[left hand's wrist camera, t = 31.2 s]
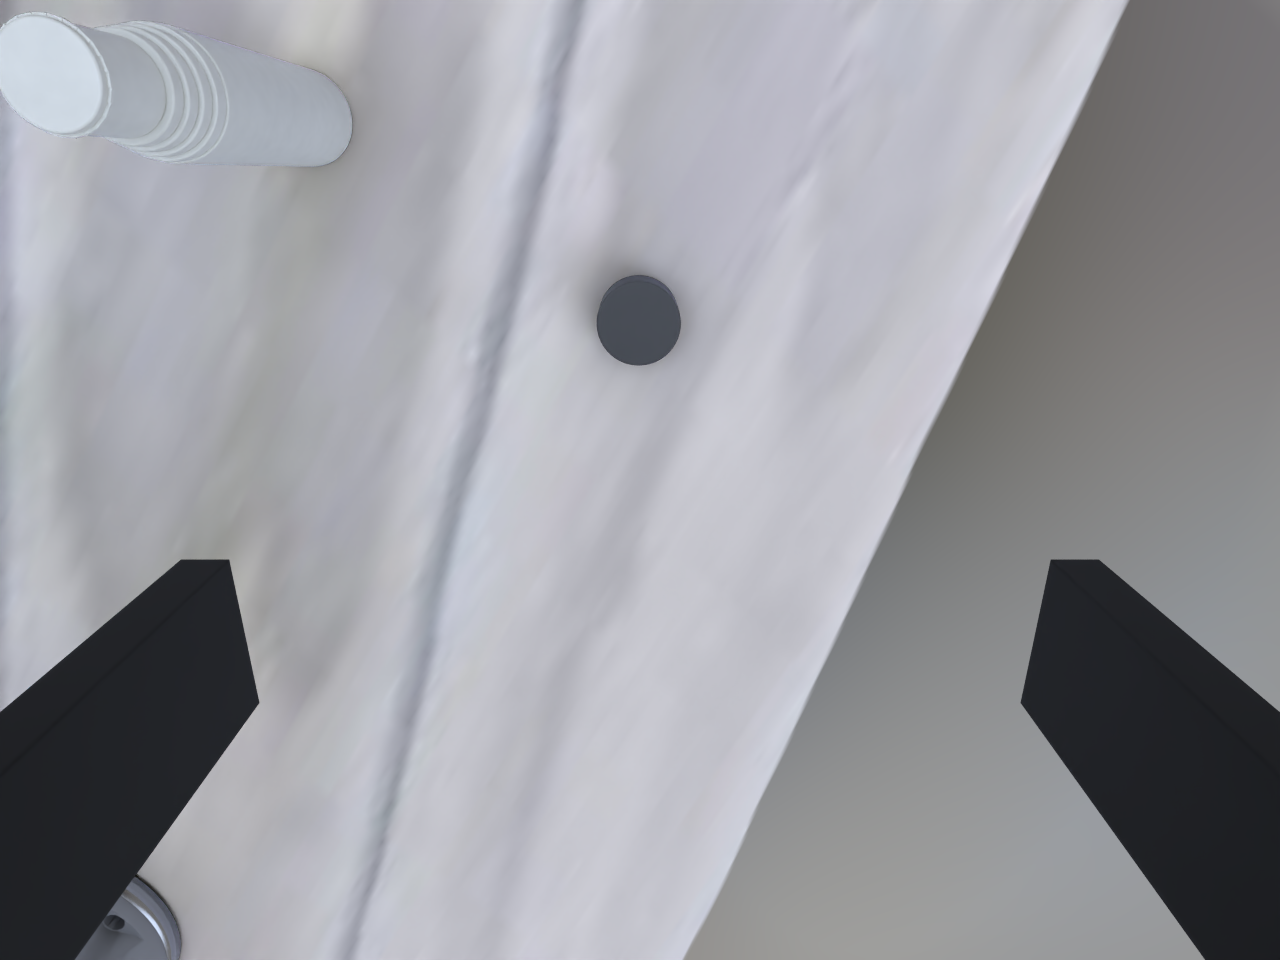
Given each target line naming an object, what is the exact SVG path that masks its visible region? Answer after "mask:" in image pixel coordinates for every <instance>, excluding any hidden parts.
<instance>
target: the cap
mask: <svg viewBox="0 0 1280 960" xmlns="http://www.w3.org/2000/svg"><path fill="white" fill-rule="evenodd" d="M680 326H681V321H680V314H679V310H678V306H677V303H676V300H675V298H674V296H673V294H672V293H671V291H670V290H669V289H668V288H667V287H666V286H665V285H664V284H663V283H661V282H660V281H658V280H656V279H654V278H651V277H648V276H642V275H636V276H630V277H626V278H623V279H621V280H619V281H618V282H616V283H615V284H614V285H612V286H611V287H610V288H609V290H608V291H607V292H606V294H605V295H604V297H603V299H602V302H601V305H600V308H599V312H598V316H597V331H598V335H599V338H600V340H601V343H602V344H603V346H604V348H605V349H606V350H607V351H608V352H609V353H610V354H611V355H612V356H613V357H614V358H616V359H617V360H619V361H621V362H624V363H627V364H630V365H647V364H651V363H654V362H656V361H658V360H660V359H662V358H663V357H664V356H666V355H667V354H668V353H669V352H670V351H671V349H672V348H673V347H674V345H675V344H676V341H677V339H678V336H679V333H680Z"/></svg>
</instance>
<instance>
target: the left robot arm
mask: <svg viewBox="0 0 1280 960" xmlns="http://www.w3.org/2000/svg"><path fill="white" fill-rule="evenodd" d="M258 704H259V699H258V694H257V689H256V685H255V680H254V675H253V670H252V666H251V661H250V656H249V652H248V647H247V642H246V637H245V633H244V628H243V623H242V618H241V614H240V609H239V604H238V599H237V595H236V590H235V585H234V580H233V576H232V571H231V566H230V561H229V560H180V561H179V562H178V563H177V564H175V565H174V566H173V567H172V568H171V569H170V570H168V571H167V572H166V573H165V574H164V575H162V576H161V577H160V578H159V579H158V580H156V581H155V582H154V583H153V584H152V585H151V586H149V587H148V588H147V589H146V590H145V591H143V592H142V593H141V594H140V595H139V596H137V597H136V598H135V599H134V600H133V601H132V602H130V603H129V604H128V605H127V606H126V607H124V608H123V609H122V610H121V611H120V612H119V613H117V614H116V615H115V616H114V617H113V618H111V619H110V620H109V621H108V622H107V623H105V624H104V625H103V626H102V627H101V628H100V629H98V630H97V631H96V632H95V633H94V634H92V635H91V636H90V637H89V638H88V639H86V640H85V641H84V642H83V643H82V644H81V645H79V646H78V647H77V648H76V649H75V650H73V651H72V652H71V653H70V654H69V655H68V656H66V657H65V658H64V659H63V660H62V661H60V662H59V663H58V664H57V665H56V666H54V667H53V668H52V669H51V670H50V671H49V672H47V673H46V674H45V675H44V676H43V677H41V678H40V679H39V680H38V681H37V682H36V683H34V684H33V685H32V686H31V687H30V688H28V689H27V690H26V691H25V692H24V693H22V694H21V695H20V696H19V697H18V698H17V699H15V700H14V701H13V702H12V703H11V704H9V705H8V706H7V707H6V708H5V709H3V710H2V711H1V712H0V960H179V956H180V950H181V941H180V934H179V930H178V927H177V924H176V922H175V920H174V918H173V916H172V914H171V912H170V911H169V909H168V908H167V906H166V905H165V904H164V902H163V901H162V900H161V899H160V898H159V897H158V895H157V894H156V893H155V892H154V891H153V890H151V889H150V888H149V887H148V886H147V885H146V884H144V883H143V882H142V881H140V880H139V879H138V878H136V877H135V875H136V874H137V872H138V871H139V870H140V868H141V867H142V866H143V864H144V863H145V861H146V860H147V859H148V857H149V856H150V854H151V853H152V852H153V850H154V849H155V847H156V846H157V845H158V843H159V842H160V840H161V839H162V838H163V836H164V835H165V833H166V832H167V831H168V829H169V828H170V827H171V825H172V824H173V822H174V821H175V820H176V818H177V817H178V815H179V814H180V813H181V811H182V810H183V808H184V807H185V806H186V804H187V803H188V801H189V800H190V799H191V797H192V796H193V794H194V793H195V792H196V790H197V789H198V788H199V786H200V785H201V783H202V782H203V781H204V779H205V778H206V776H207V775H208V774H209V772H210V771H211V769H212V768H213V767H214V765H215V764H216V762H217V761H218V760H219V758H220V757H221V756H222V754H223V753H224V751H225V750H226V749H227V747H228V746H229V744H230V743H231V742H232V740H233V739H234V737H235V736H236V735H237V733H238V732H239V730H240V729H241V728H242V726H243V725H244V723H245V722H246V721H247V719H248V718H249V717H250V715H251V714H252V712H253V711H254V710H255V708H256V707H257V705H258ZM1021 704H1022V705H1023V707H1024V708H1025V709H1026V711H1027V712H1028V714H1029V715H1030V716H1031V718H1032V719H1033V721H1034V722H1035V723H1036V725H1037V726H1038V728H1039V729H1040V730H1041V732H1042V733H1043V735H1044V736H1045V737H1046V739H1047V740H1048V742H1049V743H1050V744H1051V746H1052V747H1053V749H1054V750H1055V751H1056V753H1057V754H1058V755H1059V757H1060V758H1061V760H1062V761H1063V762H1064V764H1065V765H1066V767H1067V768H1068V769H1069V771H1070V772H1071V774H1072V775H1073V776H1074V778H1075V779H1076V780H1077V782H1078V783H1079V785H1080V786H1081V788H1082V789H1083V790H1084V792H1085V793H1086V794H1087V796H1088V797H1089V799H1090V800H1091V801H1092V803H1093V804H1094V806H1095V807H1096V808H1097V810H1098V811H1099V813H1100V814H1101V815H1102V817H1103V818H1104V820H1105V821H1106V822H1107V824H1108V825H1109V827H1110V828H1111V829H1112V831H1113V832H1114V833H1115V835H1116V836H1117V838H1118V839H1119V840H1120V842H1121V843H1122V845H1123V846H1124V847H1125V849H1126V850H1127V852H1128V853H1129V854H1130V856H1131V857H1132V859H1133V860H1134V861H1135V863H1136V864H1137V865H1138V867H1139V868H1140V870H1141V871H1142V872H1143V874H1144V875H1145V877H1146V878H1147V879H1148V881H1149V882H1150V884H1151V885H1152V886H1153V888H1154V889H1155V891H1156V892H1157V893H1158V895H1159V896H1160V897H1161V899H1162V900H1163V902H1164V903H1165V904H1166V906H1167V907H1168V909H1169V910H1170V911H1171V913H1172V914H1173V916H1174V917H1175V918H1176V920H1177V921H1178V923H1179V924H1180V925H1181V927H1182V928H1183V930H1184V931H1185V932H1186V934H1187V935H1188V937H1189V938H1190V939H1191V941H1192V942H1193V943H1194V945H1195V946H1196V948H1197V949H1198V950H1199V952H1200V953H1201V955H1202V956H1203V957H1204V959H1205V960H1280V712H1279V711H1278V710H1276V709H1275V708H1274V707H1273V706H1272V705H1271V704H1269V703H1268V702H1267V701H1266V700H1265V699H1263V698H1262V697H1261V696H1260V695H1259V694H1258V693H1256V692H1255V691H1254V690H1253V689H1252V688H1250V687H1249V686H1248V685H1247V684H1246V683H1244V682H1243V681H1242V680H1241V679H1240V678H1239V677H1237V676H1236V675H1235V674H1234V673H1233V672H1231V671H1230V670H1229V669H1228V668H1227V667H1226V666H1224V665H1223V664H1222V663H1221V662H1220V661H1218V660H1217V659H1216V658H1215V657H1214V656H1212V655H1211V654H1210V653H1209V652H1208V651H1207V650H1205V649H1204V648H1203V647H1202V646H1201V645H1199V644H1198V643H1197V642H1196V641H1195V640H1193V639H1192V638H1191V637H1190V636H1189V635H1188V634H1186V633H1185V632H1184V631H1183V630H1182V629H1180V628H1179V627H1178V626H1177V625H1176V624H1175V623H1173V622H1172V621H1171V620H1170V619H1169V618H1167V617H1166V616H1165V615H1164V614H1163V613H1161V612H1160V611H1159V610H1158V609H1157V608H1156V607H1154V606H1153V605H1152V604H1151V603H1150V602H1148V601H1147V600H1146V599H1145V598H1144V597H1143V596H1141V595H1140V594H1139V593H1138V592H1137V591H1135V590H1134V589H1133V588H1132V587H1131V586H1129V585H1128V584H1127V583H1126V582H1125V581H1124V580H1122V579H1121V578H1120V577H1119V576H1118V575H1116V574H1115V573H1114V572H1113V571H1112V570H1110V569H1109V568H1108V567H1107V566H1106V565H1105V564H1103V563H1102V562H1101V561H1100V560H1051V561H1050V566H1049V571H1048V576H1047V580H1046V585H1045V590H1044V595H1043V599H1042V604H1041V609H1040V614H1039V618H1038V623H1037V628H1036V633H1035V637H1034V642H1033V647H1032V652H1031V656H1030V661H1029V666H1028V670H1027V675H1026V680H1025V685H1024V689H1023V694H1022V699H1021Z"/></svg>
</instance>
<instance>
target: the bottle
mask: <svg viewBox="0 0 1280 960" xmlns="http://www.w3.org/2000/svg"><path fill="white" fill-rule="evenodd" d="M0 90H1V92H2V94H3V96H4V98H5V99H6V101H7V102H8V103H9V105H10V106H11V107H12V108H13V109H14V110H15V111H16V112H17V113H18V114H19V115H20V116H21V117H22V118H23V119H24V120H26V121H27V122H29V123H30V124H32V125H33V126H35V127H37V128H39V129H41V130H43V131H45V132H46V133H49V134H52V135H55V136H59V137H63V138H79V137H83V136H96V137H103V138H105V139H107V140H109V141H111V142H114V143H116V144H118V145H120V146H122V147H124V148H127V149H128V150H130V151H133V152H135V153H137V154H139V155H141V156H143V157H146V158H149V159H152V160H156V161H161V162H165V163H171V164H200V165H254V166H307V167H316V166H323V165H326V164H329V163H331V162H333V161H334V160H336V159H337V158H338V157H339V156H341V155H342V153H343V152H344V151H345V149H346V148H347V146H348V144H349V141H350V138H351V134H352V115H351V111H350V107H349V105H348V102H347V100H346V98H345V96H344V94H343V93H342V91H341V90H340V89H339V87H338V86H337V85H336V84H335V83H334V82H333V81H332V80H331V79H329V78H328V77H327V76H325V75H323V74H322V73H320V72H317V71H315V70H312V69H309V68H306V67H302V66H299V65H296V64H293V63H290V62H287V61H283V60H280V59H277V58H274V57H271V56H267V55H264V54H261V53H258V52H255V51H252V50H248V49H245V48H242V47H239V46H236V45H233V44H229V43H226V42H223V41H220V40H217V39H213V38H210V37H207V36H204V35H201V34H198V33H194V32H191V31H188V30H185V29H182V28H178V27H175V26H172V25H169V24H165V23H160V22H149V21H131V22H126V23H120V24H114V25H108V26H102V27H96V28H93V29H92V28H88V27H84V26H81V25H77V24H73V23H71V22H70V21H68V20H66V19H64V18H62V17H59V16H56V15H53V14H50V13H46V12H27V13H24V14H20V15H17V16H14V17H13V18H12V19H10V20H9V21H8V22H6V23H4V24H3V26H2V27H1V29H0Z"/></svg>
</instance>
